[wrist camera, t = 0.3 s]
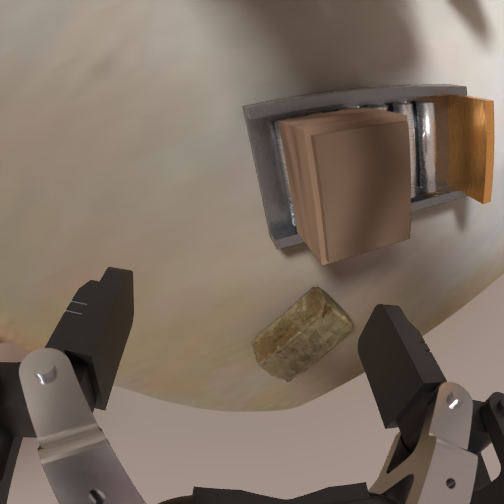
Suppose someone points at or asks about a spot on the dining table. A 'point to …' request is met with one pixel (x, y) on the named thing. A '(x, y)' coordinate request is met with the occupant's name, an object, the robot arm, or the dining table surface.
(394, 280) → the dining table surface
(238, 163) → the dining table surface
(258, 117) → the roller track
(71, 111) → the dining table surface
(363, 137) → the brown wooden block
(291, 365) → the stone block
